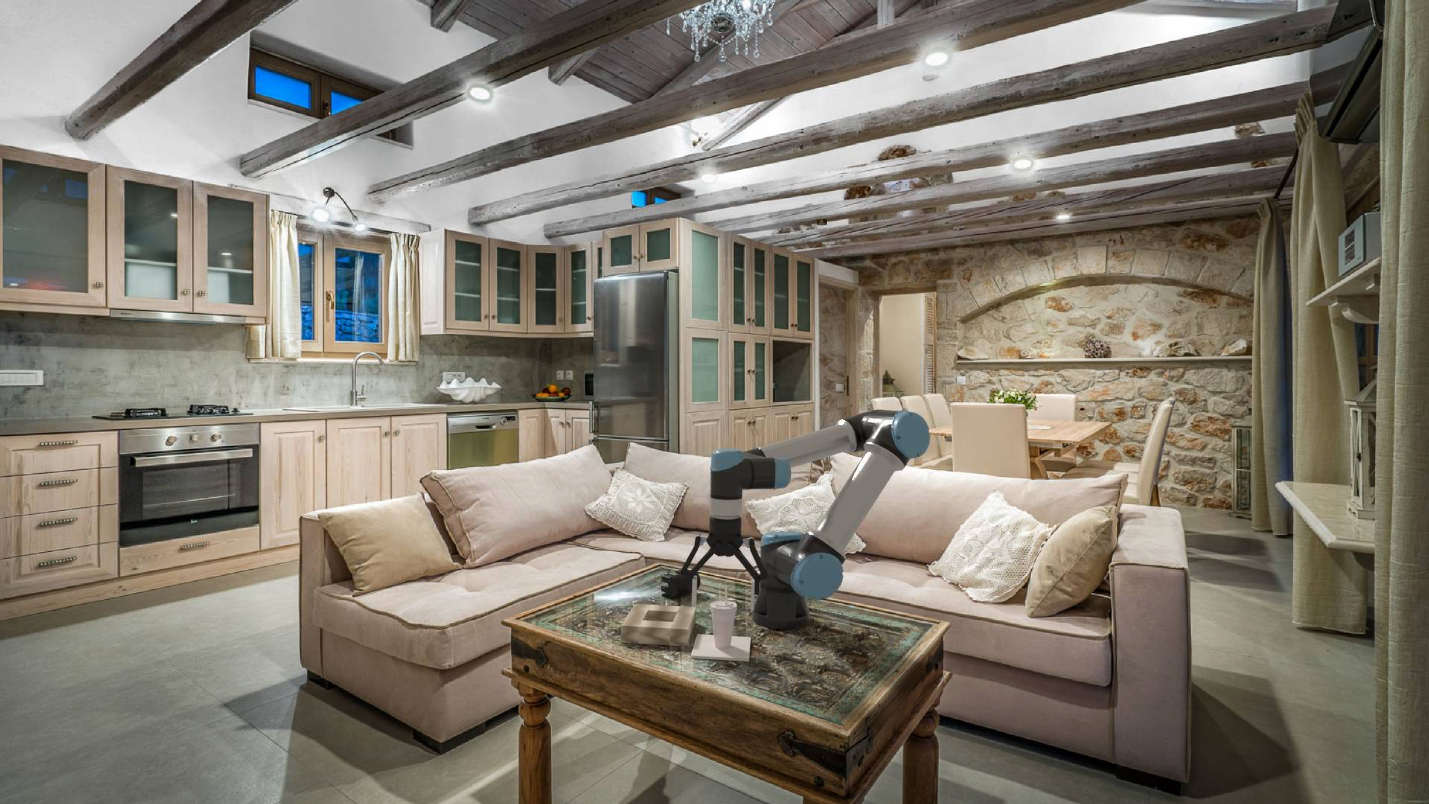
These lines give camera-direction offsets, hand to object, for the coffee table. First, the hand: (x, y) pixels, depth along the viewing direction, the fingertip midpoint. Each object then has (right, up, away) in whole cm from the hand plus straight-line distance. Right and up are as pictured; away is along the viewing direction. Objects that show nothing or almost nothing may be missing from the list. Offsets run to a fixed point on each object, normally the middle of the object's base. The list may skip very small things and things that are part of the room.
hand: (723, 607), depth 152 cm
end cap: (-12, -9, +39) cm, 42 cm away
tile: (0, -10, 0) cm, 10 cm away
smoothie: (0, -9, 0) cm, 9 cm away
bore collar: (-16, -9, +9) cm, 20 cm away
